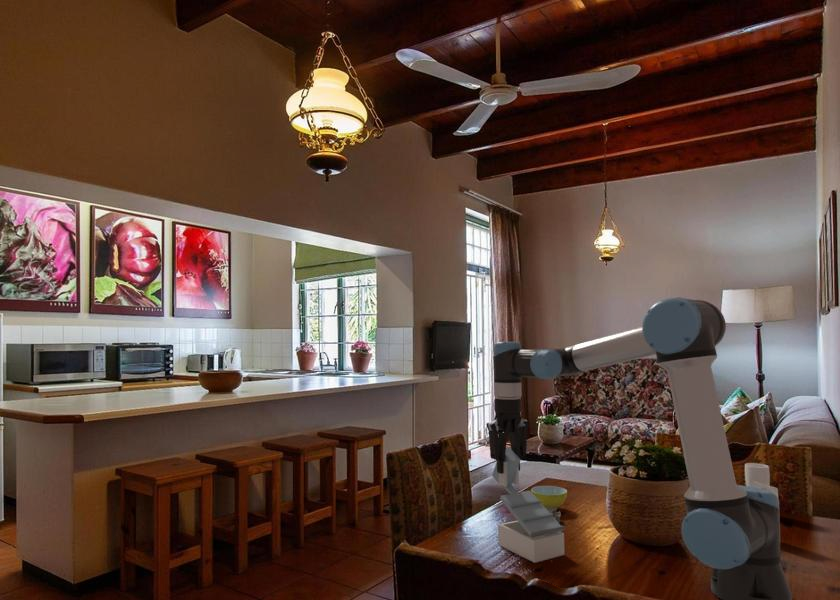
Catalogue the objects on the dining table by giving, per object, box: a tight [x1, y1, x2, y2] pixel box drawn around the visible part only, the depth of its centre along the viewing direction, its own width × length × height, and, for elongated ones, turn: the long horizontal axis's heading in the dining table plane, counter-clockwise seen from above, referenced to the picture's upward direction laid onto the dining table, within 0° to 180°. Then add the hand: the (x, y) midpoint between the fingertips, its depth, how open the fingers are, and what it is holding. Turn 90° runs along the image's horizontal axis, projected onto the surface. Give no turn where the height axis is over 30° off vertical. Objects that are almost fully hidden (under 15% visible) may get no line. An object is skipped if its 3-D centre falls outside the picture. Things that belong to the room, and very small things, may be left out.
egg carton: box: [546, 508, 562, 524], centre depth 171 cm, size 11×8×4 cm
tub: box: [497, 520, 565, 563], centre depth 148 cm, size 14×10×6 cm
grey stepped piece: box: [491, 447, 566, 538], centre depth 150 cm, size 23×11×9 cm, turn 30°
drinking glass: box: [744, 462, 771, 491], centre depth 181 cm, size 7×7×15 cm
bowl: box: [530, 485, 568, 512], centre depth 185 cm, size 11×12×6 cm
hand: (508, 484), depth 156 cm, fingers closed on grey stepped piece, 3 cm apart
